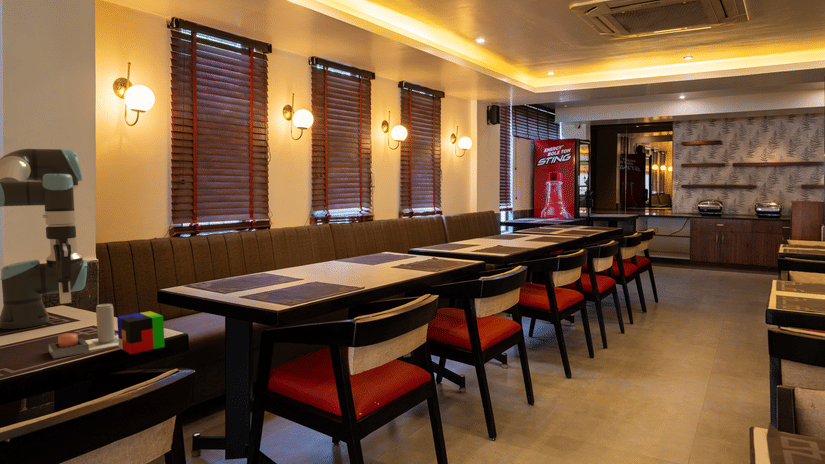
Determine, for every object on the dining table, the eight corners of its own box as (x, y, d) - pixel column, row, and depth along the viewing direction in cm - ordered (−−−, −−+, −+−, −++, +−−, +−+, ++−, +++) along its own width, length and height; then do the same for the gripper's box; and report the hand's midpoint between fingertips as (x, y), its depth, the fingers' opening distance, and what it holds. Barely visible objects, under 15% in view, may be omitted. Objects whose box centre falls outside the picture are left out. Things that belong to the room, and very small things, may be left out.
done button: (57, 346, 163) (56, 335, 163) (76, 343, 167) (75, 332, 166) (60, 349, 160) (59, 338, 159) (79, 346, 163) (78, 335, 163)
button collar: (49, 351, 164) (48, 344, 163) (82, 345, 170) (82, 338, 169) (53, 358, 157) (53, 350, 157) (88, 352, 163) (88, 344, 163)
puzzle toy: (118, 348, 167) (117, 316, 167) (151, 341, 175) (150, 311, 174) (130, 354, 161) (129, 322, 160) (164, 347, 168) (163, 315, 167)
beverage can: (107, 343, 170) (105, 307, 169) (94, 343, 171) (92, 306, 170) (118, 339, 175) (116, 303, 174) (105, 339, 176) (103, 303, 175)
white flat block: (81, 342, 174) (81, 340, 174) (122, 335, 182) (121, 334, 182) (89, 350, 164) (89, 349, 164) (132, 343, 172) (132, 342, 172)
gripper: (42, 225, 162) (47, 301, 164) (49, 227, 153) (54, 308, 154) (71, 223, 167) (76, 297, 169) (79, 225, 158) (84, 304, 159)
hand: (65, 302), depth 162 cm, fingers closed
